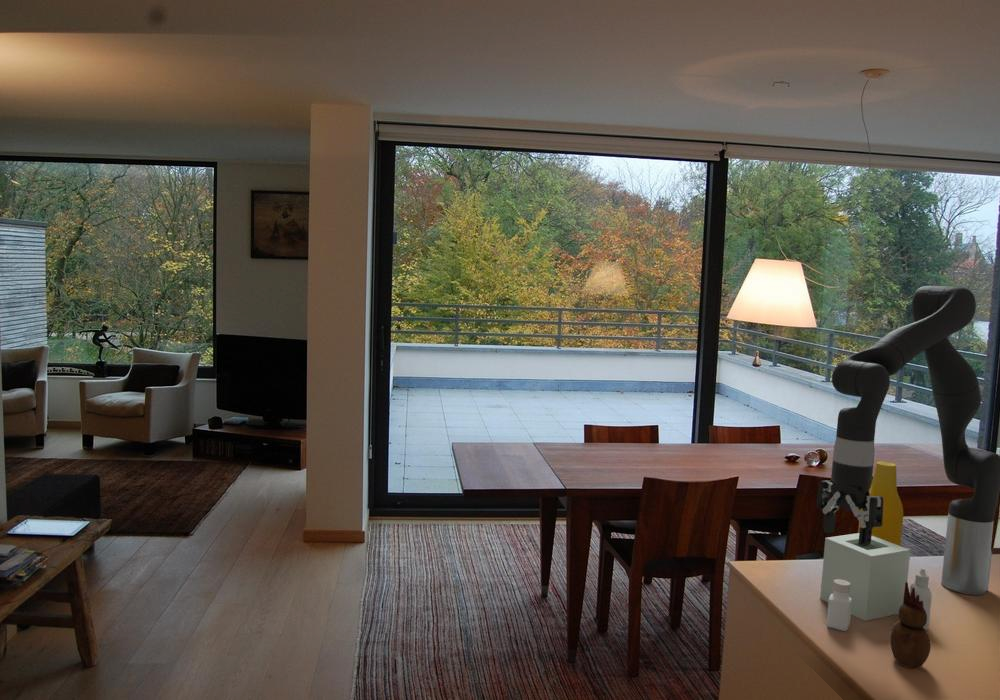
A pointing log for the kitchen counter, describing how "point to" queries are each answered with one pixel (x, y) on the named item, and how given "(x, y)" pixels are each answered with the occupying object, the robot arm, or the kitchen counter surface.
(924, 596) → the eye dropper bottle
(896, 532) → the beer bottle
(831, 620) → the salt shaker
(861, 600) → the tissue box
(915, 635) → the wooden figurine
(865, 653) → the kitchen counter surface
